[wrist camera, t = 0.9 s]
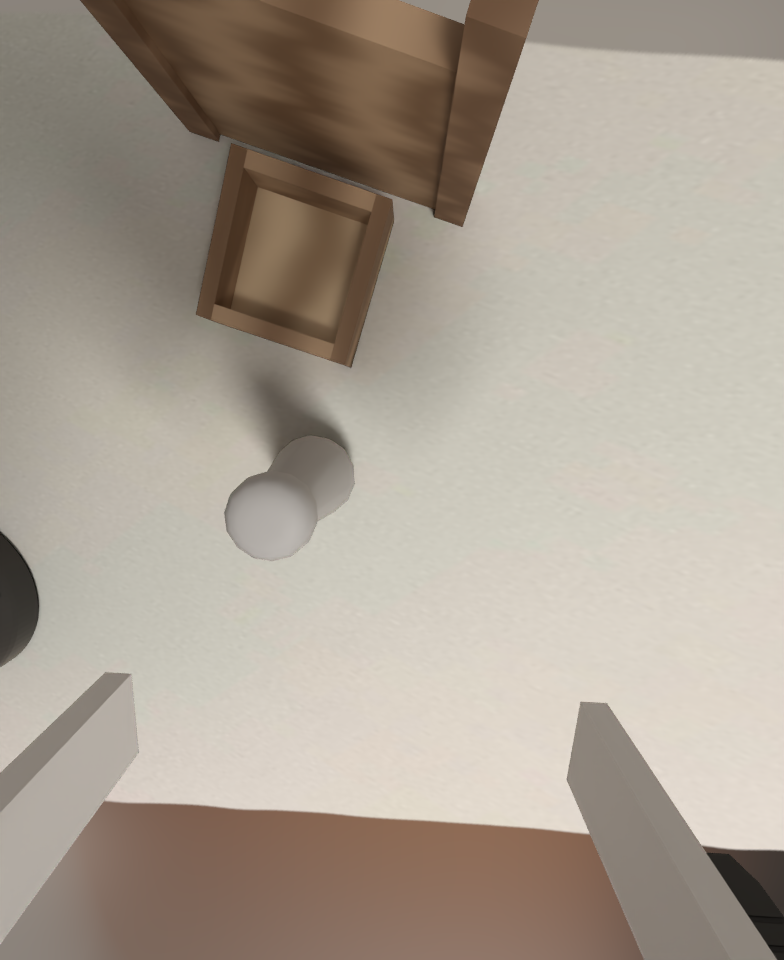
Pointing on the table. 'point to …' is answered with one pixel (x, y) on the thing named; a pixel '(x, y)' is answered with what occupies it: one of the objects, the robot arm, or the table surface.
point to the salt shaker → (289, 498)
